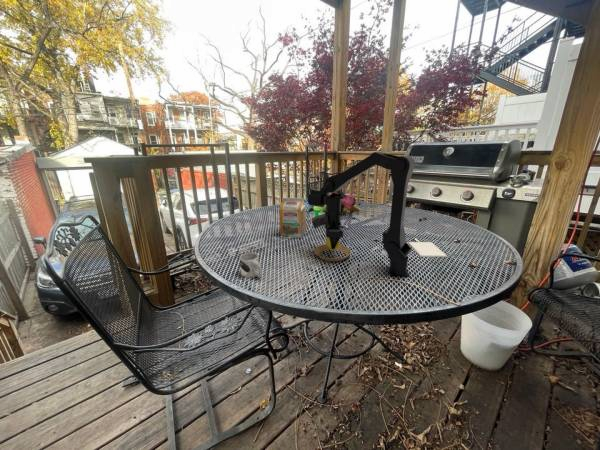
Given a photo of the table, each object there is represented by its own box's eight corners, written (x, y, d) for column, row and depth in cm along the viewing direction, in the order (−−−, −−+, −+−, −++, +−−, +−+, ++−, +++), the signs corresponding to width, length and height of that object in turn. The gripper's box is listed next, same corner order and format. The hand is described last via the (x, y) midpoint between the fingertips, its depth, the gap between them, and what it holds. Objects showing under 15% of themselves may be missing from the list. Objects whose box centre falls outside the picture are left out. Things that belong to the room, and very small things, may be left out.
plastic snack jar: (280, 237, 124) (278, 199, 118) (286, 230, 134) (285, 195, 128) (301, 239, 122) (300, 200, 116) (306, 232, 132) (305, 196, 126)
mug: (237, 273, 91) (235, 256, 89) (252, 267, 95) (251, 251, 93) (253, 283, 84) (251, 265, 82) (269, 276, 88) (268, 259, 86)
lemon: (330, 247, 107) (331, 229, 105) (342, 250, 104) (342, 231, 101) (323, 251, 103) (323, 232, 100) (334, 254, 100) (335, 235, 97)
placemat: (446, 257, 100) (446, 255, 100) (420, 256, 101) (420, 255, 101) (431, 243, 113) (431, 242, 113) (408, 243, 114) (408, 242, 114)
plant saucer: (309, 252, 108) (308, 246, 108) (339, 247, 113) (339, 241, 112) (324, 267, 95) (324, 261, 94) (357, 260, 100) (358, 254, 99)
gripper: (312, 203, 107) (312, 237, 112) (312, 215, 89) (312, 255, 94) (339, 203, 107) (338, 237, 111) (344, 215, 89) (342, 255, 94)
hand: (332, 246), depth 103 cm, fingers closed on lemon, 6 cm apart
